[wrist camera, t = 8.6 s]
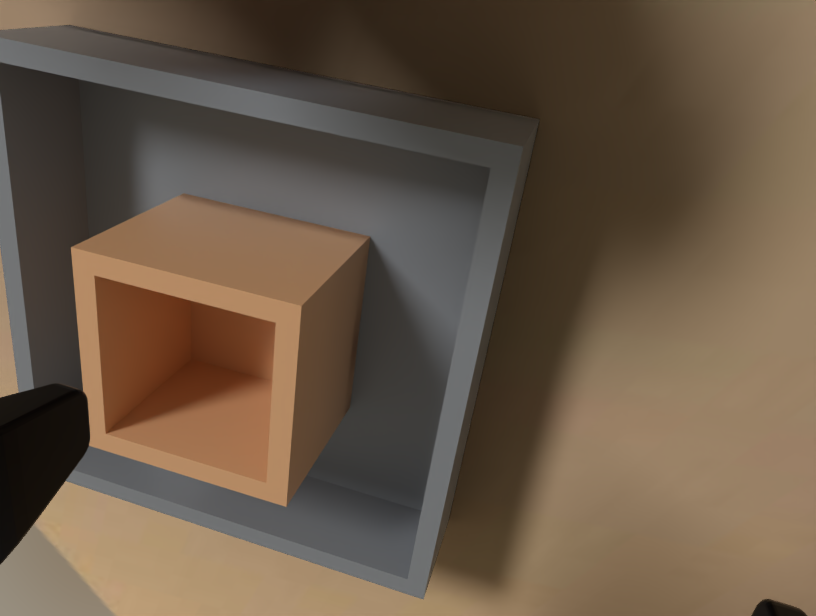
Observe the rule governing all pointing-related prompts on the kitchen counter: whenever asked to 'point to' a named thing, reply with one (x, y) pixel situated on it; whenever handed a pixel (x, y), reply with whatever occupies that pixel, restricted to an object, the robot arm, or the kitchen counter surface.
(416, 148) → the grey square tray
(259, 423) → the small crate
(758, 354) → the kitchen counter surface
